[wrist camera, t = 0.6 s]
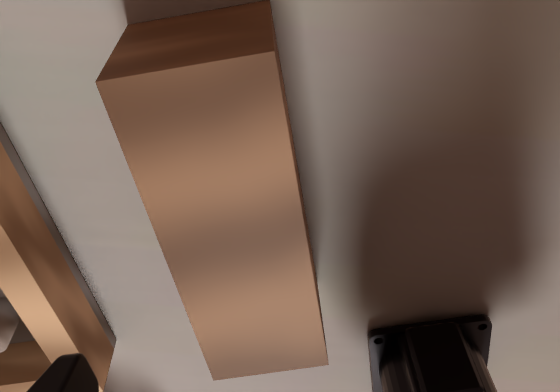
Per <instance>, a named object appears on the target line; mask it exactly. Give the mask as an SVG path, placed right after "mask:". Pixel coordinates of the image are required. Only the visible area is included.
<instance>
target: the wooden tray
mask: <svg viewBox="0 0 560 392" xmlns="http://www.w3.org/2000/svg"><path fill="white" fill-rule="evenodd" d="M115 344H116V338H115V336H114V334H113V333H112V331H111V329H110V327H109V325H108V323H107V321H106V319H105V318H104V316H103V314H102V312H101V310H100V308H99V306H98V305H97V303H96V301H95V299H94V297H93V295H92V293H91V291H90V290H89V288H88V286H87V284H86V282H85V280H84V278H83V276H82V275H81V273H80V271H79V269H78V267H77V265H76V263H75V261H74V260H73V258H72V256H71V254H70V252H69V250H68V248H67V246H66V245H65V243H64V241H63V239H62V237H61V235H60V233H59V232H58V230H57V228H56V226H55V224H54V222H53V220H52V218H51V217H50V215H49V213H48V211H47V209H46V207H45V205H44V203H43V202H42V200H41V198H40V196H39V194H38V192H37V190H36V188H35V187H34V185H33V183H32V181H31V179H30V177H29V175H28V173H27V172H26V170H25V168H24V166H23V164H22V162H21V160H20V159H19V157H18V155H17V153H16V151H15V149H14V147H13V145H12V144H11V142H10V140H9V138H8V136H7V134H6V132H5V130H4V129H3V127H2V125H1V123H0V392H26V391H27V390H28V389H29V388H30V387H31V386H32V385H33V384H34V383H35V382H36V381H37V379H38V378H39V377H40V376H41V375H42V374H43V373H44V372H45V371H46V370H47V368H48V367H49V366H50V365H51V364H52V363H53V362H54V361H55V360H56V359H57V358H58V357H59V356H61V355H65V354H74V353H82V354H83V355H85V357H86V358H87V360H88V362H89V364H90V366H91V368H92V370H93V372H94V374H95V375H96V377H97V380H98V383H99V392H103V391H104V387H105V383H106V379H107V375H108V371H109V367H110V363H111V359H112V355H113V351H114V348H115Z"/></svg>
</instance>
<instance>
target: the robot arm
mask: <svg viewBox="0 0 560 392" xmlns="http://www.w3.org/2000/svg"><path fill="white" fill-rule="evenodd" d="M491 330H492V323H491V321H490V319H489V317H488V316H486V315H476V316H469V317H462V318H454V319H447V320H440V321H432V322H425V323H417V324H410V325H403V326H395V327H388V328H381V329H375V330H372V331H370V332H369V334H368V346H369V357H370V368H371V379H372V390H373V392H497V390H496V388H495V385H494V383H493V381H492V378H491V376H490V374H489V371H488V369H487V362H488V354H489V346H490V338H491ZM26 392H99V383H98V380H97V377H96V375H95V374H94V372H93V370H92V368H91V366H90V364H89V362H88V360H87V358H86V357H85V355H83V354H82V353H74V354H65V355H61V356H59V357H58V358H57V359H56V360H55V361H54V362H53V363H52V364H51V365H50V366H49V367H48V368H47V370H46V371H45V372H44V373H43V374H42V375H41V376H40V377H39V378H38V379H37V381H36V382H35V383H34V384H33V385H32V386H31V387H30V388H29V389H28V390H27V391H26Z"/></svg>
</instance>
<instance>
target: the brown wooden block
mask: <svg viewBox="0 0 560 392" xmlns="http://www.w3.org/2000/svg"><path fill="white" fill-rule="evenodd" d="M96 85H97V88H98V90H99V93H100V95H101V98H102V100H103V103H104V105H105V108H106V110H107V113H108V115H109V118H110V120H111V123H112V125H113V128H114V130H115V133H116V135H117V138H118V141H119V143H120V146H121V148H122V151H123V153H124V156H125V158H126V161H127V163H128V166H129V168H130V171H131V173H132V176H133V178H134V181H135V183H136V186H137V188H138V191H139V193H140V196H141V199H142V201H143V204H144V206H145V209H146V211H147V214H148V216H149V219H150V221H151V224H152V226H153V229H154V231H155V234H156V236H157V239H158V241H159V244H160V246H161V249H162V252H163V254H164V257H165V259H166V262H167V264H168V267H169V269H170V272H171V274H172V277H173V279H174V282H175V284H176V287H177V289H178V292H179V294H180V297H181V299H182V302H183V304H184V307H185V310H186V312H187V315H188V317H189V320H190V322H191V325H192V327H193V330H194V332H195V335H196V337H197V340H198V342H199V345H200V347H201V350H202V352H203V355H204V357H205V360H206V363H207V365H208V368H209V370H210V373H211V375H212V378H213V380H221V379H228V378H236V377H243V376H250V375H258V374H265V373H273V372H280V371H287V370H295V369H302V368H309V367H317V366H324V365H329V364H328V357H327V350H326V343H325V335H324V328H323V321H322V314H321V307H320V300H319V292H318V285H317V279H316V273H315V267H314V261H313V255H312V249H311V243H310V237H309V232H308V226H307V220H306V214H305V208H304V202H303V196H302V190H301V184H300V178H299V172H298V166H297V160H296V154H295V148H294V142H293V136H292V130H291V125H290V119H289V113H288V107H287V101H286V95H285V89H284V83H283V77H282V71H281V65H280V59H279V53H278V47H277V41H276V35H275V29H274V24H273V18H272V12H271V6H270V0H265V1H260V2H254V3H248V4H243V5H237V6H232V7H226V8H220V9H215V10H209V11H203V12H198V13H192V14H186V15H181V16H175V17H170V18H164V19H158V20H153V21H147V22H141V23H136V24H130V25H128V26H127V27H126V29H125V31H124V33H123V34H122V36H121V38H120V40H119V41H118V43H117V45H116V47H115V48H114V50H113V52H112V54H111V55H110V57H109V59H108V61H107V62H106V64H105V66H104V68H103V69H102V71H101V73H100V75H99V76H98V78H97V80H96Z"/></svg>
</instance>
